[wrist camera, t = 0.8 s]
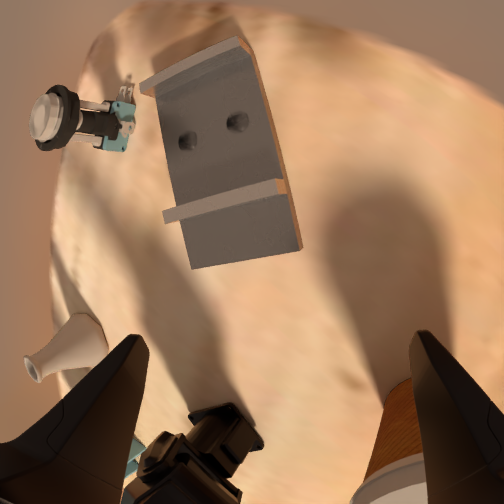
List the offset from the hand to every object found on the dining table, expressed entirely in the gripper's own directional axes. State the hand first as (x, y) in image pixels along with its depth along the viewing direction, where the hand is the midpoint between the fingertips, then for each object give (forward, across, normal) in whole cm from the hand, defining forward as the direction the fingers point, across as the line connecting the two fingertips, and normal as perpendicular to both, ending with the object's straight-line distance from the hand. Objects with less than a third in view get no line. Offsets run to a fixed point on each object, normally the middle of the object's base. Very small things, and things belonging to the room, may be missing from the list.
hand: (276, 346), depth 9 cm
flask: (+14, +24, +19) cm, 34 cm away
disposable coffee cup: (+5, -11, +16) cm, 20 cm away
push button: (+22, +14, -4) cm, 26 cm away
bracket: (+17, +4, 0) cm, 18 cm away
